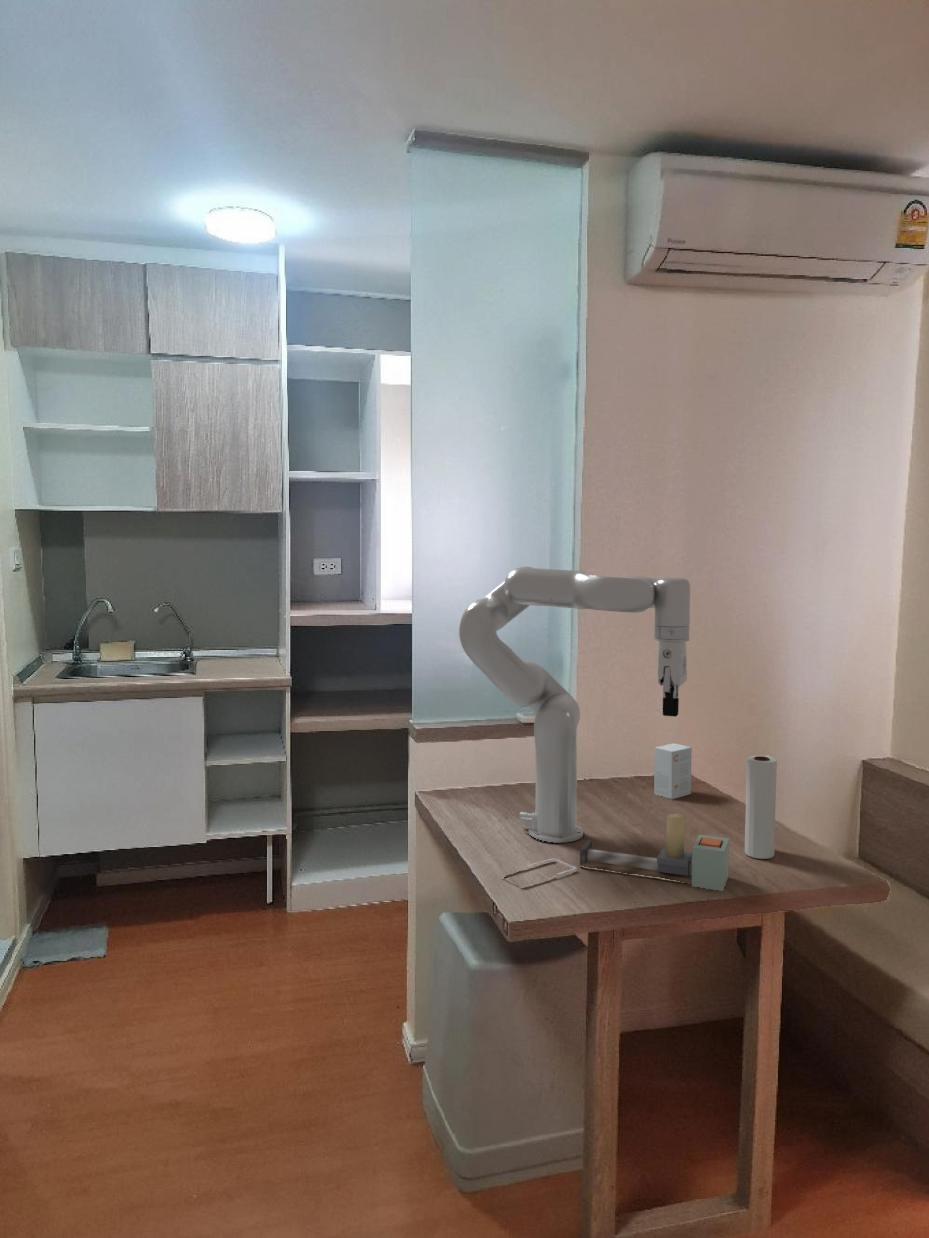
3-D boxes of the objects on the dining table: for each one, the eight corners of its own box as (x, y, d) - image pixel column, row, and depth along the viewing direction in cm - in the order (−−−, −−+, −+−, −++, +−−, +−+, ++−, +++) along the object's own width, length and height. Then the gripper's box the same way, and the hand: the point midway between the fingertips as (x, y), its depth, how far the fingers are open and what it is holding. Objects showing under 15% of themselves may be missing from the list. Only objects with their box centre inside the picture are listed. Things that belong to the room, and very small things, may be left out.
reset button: (700, 858, 173) (700, 842, 173) (702, 852, 176) (703, 837, 176) (718, 861, 171) (719, 845, 171) (721, 855, 175) (721, 839, 174)
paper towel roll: (758, 861, 185) (760, 762, 183) (738, 852, 191) (740, 756, 189) (784, 856, 188) (787, 759, 186) (764, 847, 193) (766, 752, 192)
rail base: (579, 867, 182) (580, 849, 182) (587, 858, 187) (587, 840, 187) (692, 884, 173) (692, 865, 172) (697, 874, 178) (697, 855, 178)
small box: (672, 789, 239) (673, 742, 238) (691, 794, 234) (692, 746, 233) (653, 794, 234) (653, 746, 233) (671, 800, 229) (672, 751, 228)
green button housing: (691, 886, 172) (692, 847, 171) (697, 872, 179) (698, 834, 178) (723, 891, 169) (723, 851, 169) (728, 876, 177) (729, 838, 176)
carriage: (656, 873, 175) (657, 818, 174) (662, 863, 181) (663, 810, 180) (687, 877, 173) (688, 822, 172) (692, 867, 178) (693, 813, 177)
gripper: (683, 637, 185) (681, 723, 186) (694, 631, 198) (693, 710, 200) (647, 636, 188) (646, 720, 189) (661, 629, 201) (660, 708, 203)
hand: (670, 715), depth 195 cm, fingers closed
